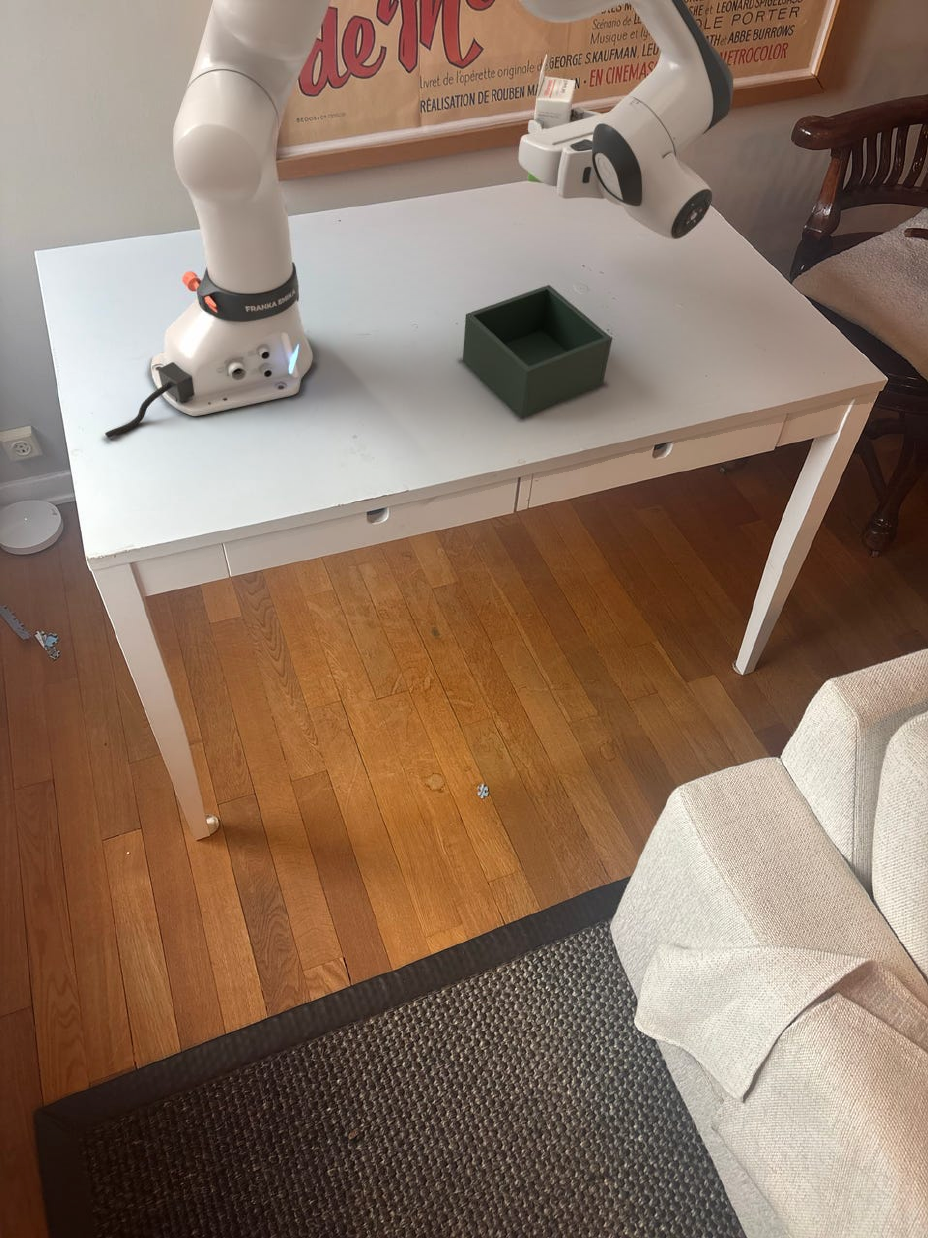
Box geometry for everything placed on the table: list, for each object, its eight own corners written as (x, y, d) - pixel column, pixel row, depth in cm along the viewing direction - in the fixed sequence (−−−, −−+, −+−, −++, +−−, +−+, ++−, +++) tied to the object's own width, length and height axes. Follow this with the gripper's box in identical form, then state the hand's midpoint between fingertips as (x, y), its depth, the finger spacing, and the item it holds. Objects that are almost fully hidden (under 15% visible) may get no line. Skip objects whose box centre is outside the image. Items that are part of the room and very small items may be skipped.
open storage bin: (521, 418, 133) (527, 371, 127) (462, 361, 140) (465, 313, 134) (602, 384, 139) (612, 338, 132) (542, 331, 146) (549, 284, 139)
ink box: (559, 186, 142) (573, 79, 131) (526, 181, 142) (537, 74, 131) (565, 160, 148) (579, 55, 136) (533, 156, 148) (545, 51, 137)
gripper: (677, 121, 132) (613, 80, 139) (559, 155, 124) (497, 110, 131) (667, 166, 137) (605, 125, 144) (553, 201, 129) (494, 156, 136)
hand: (553, 118), depth 137 cm, fingers closed on ink box, 6 cm apart
